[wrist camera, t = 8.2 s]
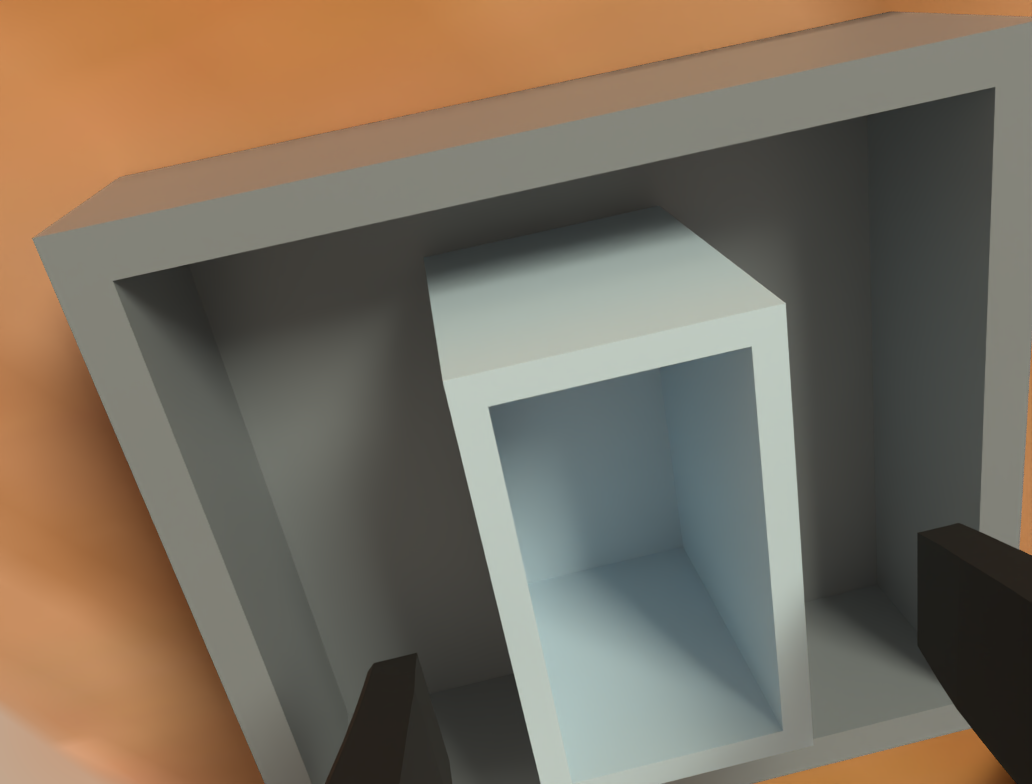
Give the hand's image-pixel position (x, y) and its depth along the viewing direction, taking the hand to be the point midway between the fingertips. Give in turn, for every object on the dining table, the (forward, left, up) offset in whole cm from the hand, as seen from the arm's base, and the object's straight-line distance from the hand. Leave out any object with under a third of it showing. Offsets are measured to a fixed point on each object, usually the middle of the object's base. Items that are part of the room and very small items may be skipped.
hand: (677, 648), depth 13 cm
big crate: (0, 0, -8) cm, 8 cm away
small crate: (0, 0, -7) cm, 7 cm away
